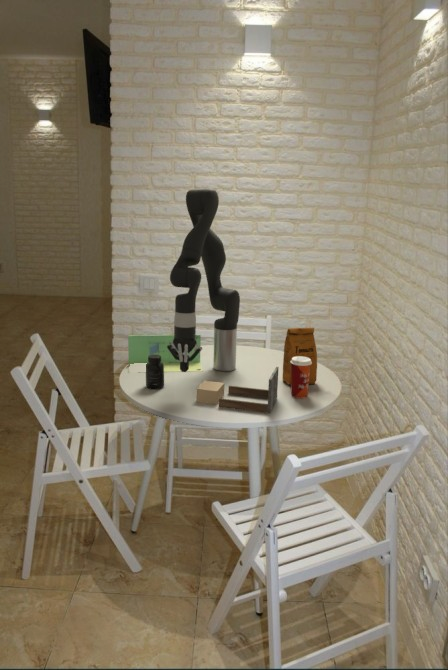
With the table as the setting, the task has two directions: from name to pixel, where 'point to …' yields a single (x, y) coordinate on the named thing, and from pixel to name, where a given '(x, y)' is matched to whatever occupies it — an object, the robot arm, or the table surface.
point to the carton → (210, 392)
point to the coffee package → (300, 351)
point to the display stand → (159, 351)
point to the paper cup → (300, 376)
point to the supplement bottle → (154, 372)
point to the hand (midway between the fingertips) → (184, 371)
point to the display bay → (253, 392)
